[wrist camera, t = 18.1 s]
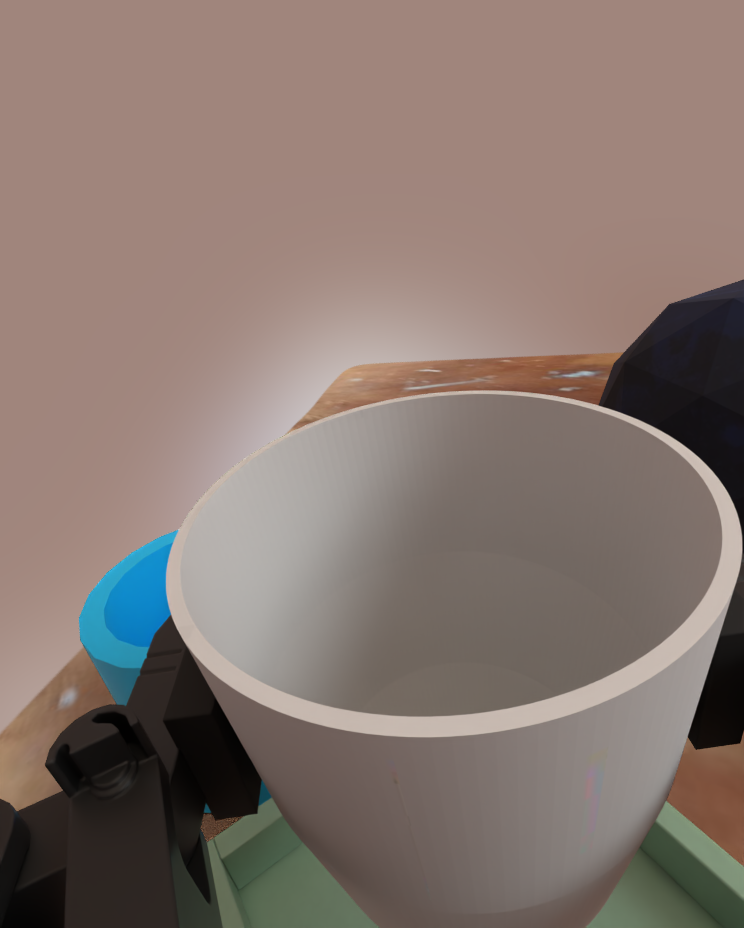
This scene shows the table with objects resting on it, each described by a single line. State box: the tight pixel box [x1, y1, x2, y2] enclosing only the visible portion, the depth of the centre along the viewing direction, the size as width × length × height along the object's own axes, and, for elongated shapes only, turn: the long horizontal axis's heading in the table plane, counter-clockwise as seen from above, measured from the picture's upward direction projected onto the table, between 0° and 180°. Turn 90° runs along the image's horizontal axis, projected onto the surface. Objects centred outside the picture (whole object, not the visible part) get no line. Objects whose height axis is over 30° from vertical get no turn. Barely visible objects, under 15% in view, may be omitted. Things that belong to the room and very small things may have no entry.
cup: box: [166, 391, 742, 928], centre depth 11 cm, size 8×8×10 cm
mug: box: [79, 530, 272, 813], centre depth 24 cm, size 12×8×8 cm
